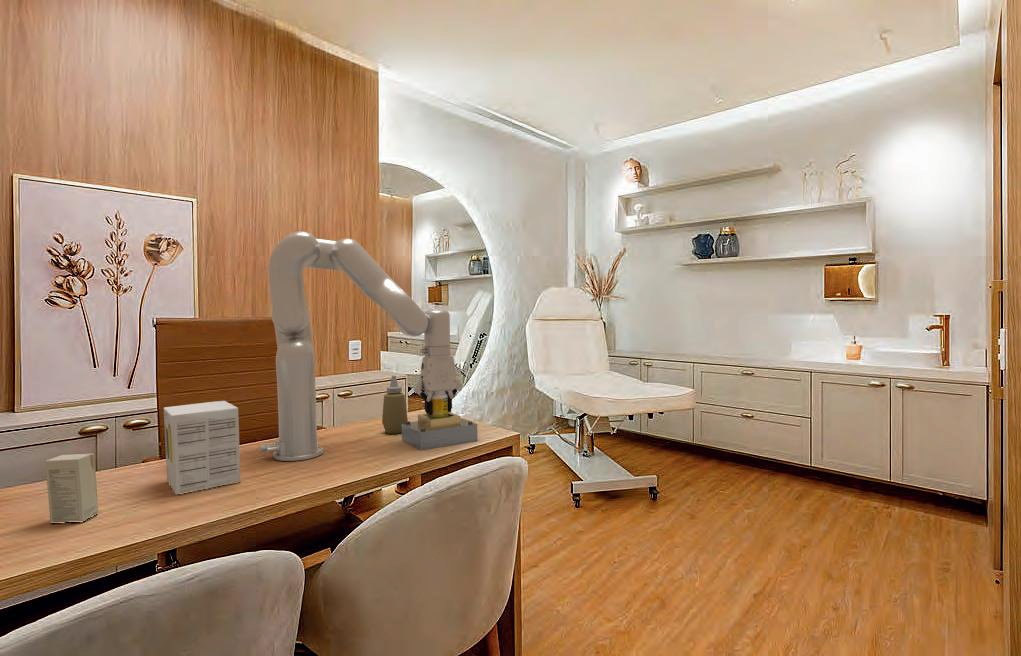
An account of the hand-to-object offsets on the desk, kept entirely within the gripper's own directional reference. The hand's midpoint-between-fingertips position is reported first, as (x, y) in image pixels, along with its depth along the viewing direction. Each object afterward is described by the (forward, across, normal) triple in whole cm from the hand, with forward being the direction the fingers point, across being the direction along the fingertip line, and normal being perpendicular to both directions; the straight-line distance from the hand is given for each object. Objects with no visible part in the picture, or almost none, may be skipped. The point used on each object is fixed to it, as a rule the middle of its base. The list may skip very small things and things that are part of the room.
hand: (438, 412), depth 158 cm
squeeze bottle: (+9, -7, +18) cm, 21 cm away
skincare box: (+9, -83, -14) cm, 85 cm away
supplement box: (+9, -61, -3) cm, 62 cm away
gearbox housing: (+8, 0, 0) cm, 8 cm away
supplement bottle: (+2, 0, 0) cm, 2 cm away
